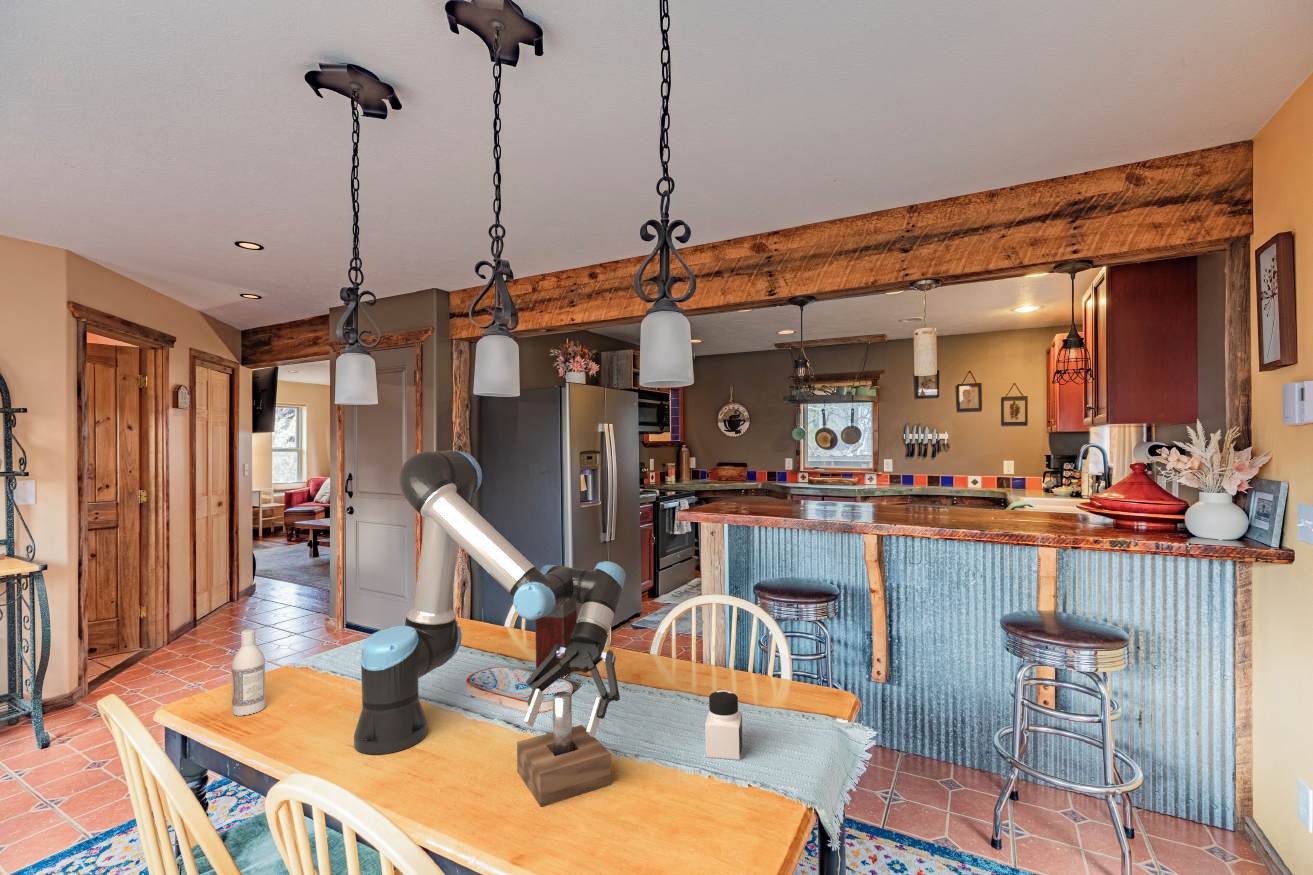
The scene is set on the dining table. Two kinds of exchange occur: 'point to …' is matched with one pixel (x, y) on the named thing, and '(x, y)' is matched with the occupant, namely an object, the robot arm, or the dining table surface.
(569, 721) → the steel pin
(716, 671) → the dining table surface
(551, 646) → the square glass decanter
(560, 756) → the bore block
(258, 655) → the bath foam
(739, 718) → the medicine bottle
